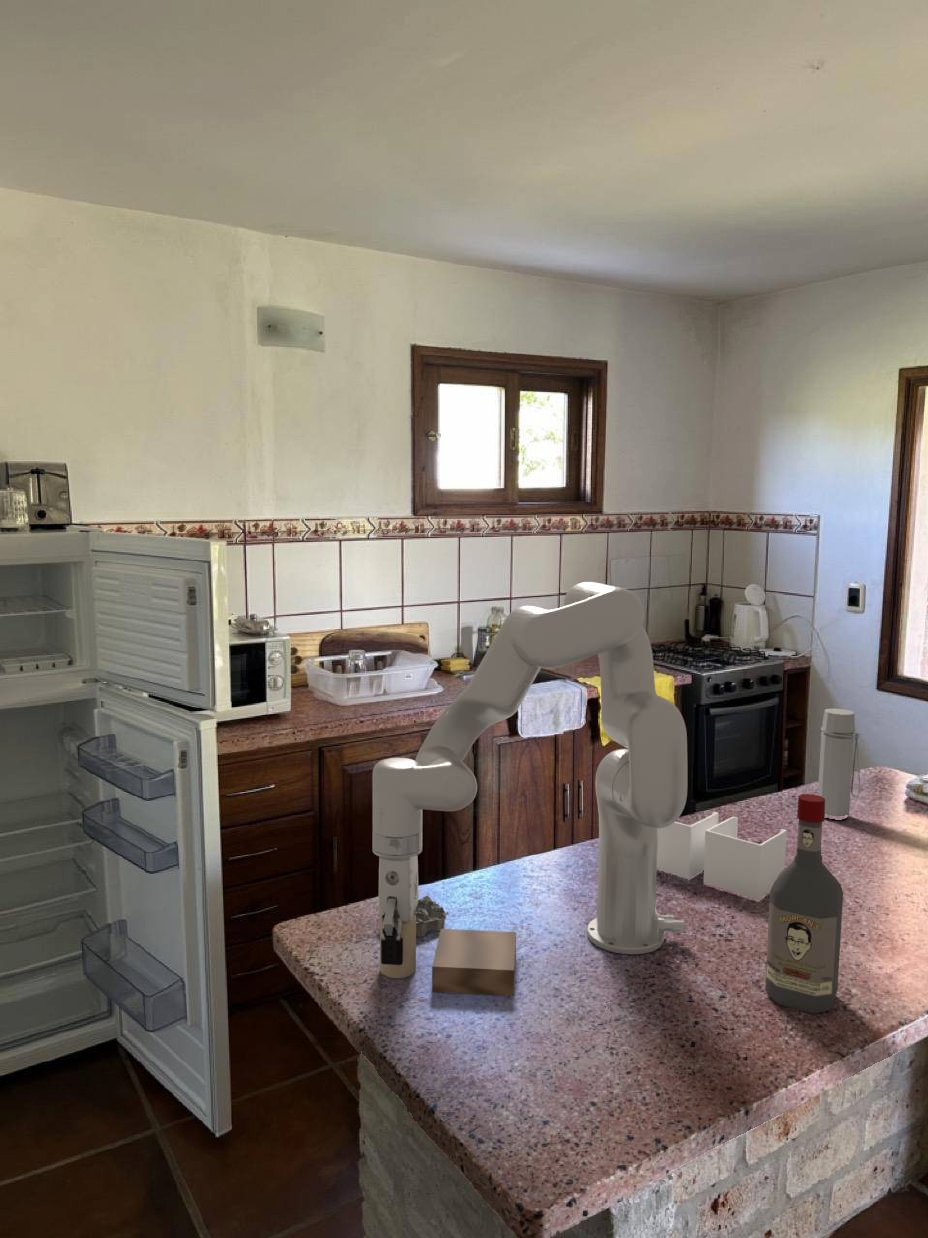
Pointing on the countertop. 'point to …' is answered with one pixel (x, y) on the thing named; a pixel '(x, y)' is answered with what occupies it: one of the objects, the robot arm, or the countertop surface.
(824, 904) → the liquor
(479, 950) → the plinth
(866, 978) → the countertop surface
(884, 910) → the countertop surface
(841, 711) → the water bottle
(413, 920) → the candle
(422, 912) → the egg carton
